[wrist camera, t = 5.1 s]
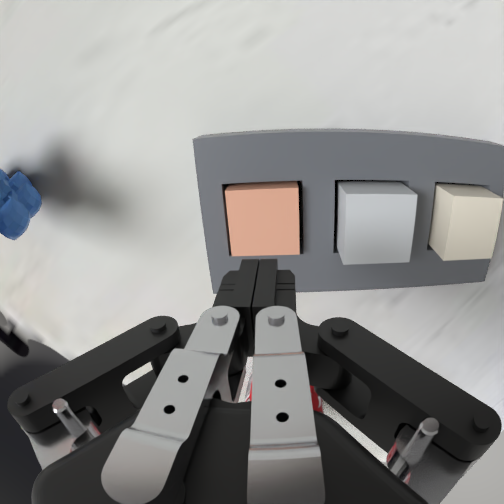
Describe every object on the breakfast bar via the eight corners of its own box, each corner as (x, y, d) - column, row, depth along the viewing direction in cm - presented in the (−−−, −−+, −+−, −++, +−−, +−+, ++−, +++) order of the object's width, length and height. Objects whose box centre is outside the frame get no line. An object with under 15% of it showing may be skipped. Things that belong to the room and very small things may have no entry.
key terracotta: (295, 176, 21) (298, 187, 19) (297, 236, 23) (299, 254, 21) (232, 179, 22) (224, 190, 19) (237, 238, 24) (231, 256, 21)
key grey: (400, 182, 19) (417, 194, 16) (395, 242, 21) (409, 262, 18) (337, 181, 20) (346, 194, 17) (335, 244, 22) (343, 264, 19)
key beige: (481, 186, 18) (503, 198, 16) (472, 240, 20) (491, 258, 18) (433, 183, 19) (453, 195, 16) (426, 241, 21) (443, 260, 18)
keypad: (489, 141, 18) (507, 147, 16) (471, 267, 23) (484, 281, 21) (202, 135, 21) (192, 139, 18) (219, 276, 25) (213, 293, 23)
